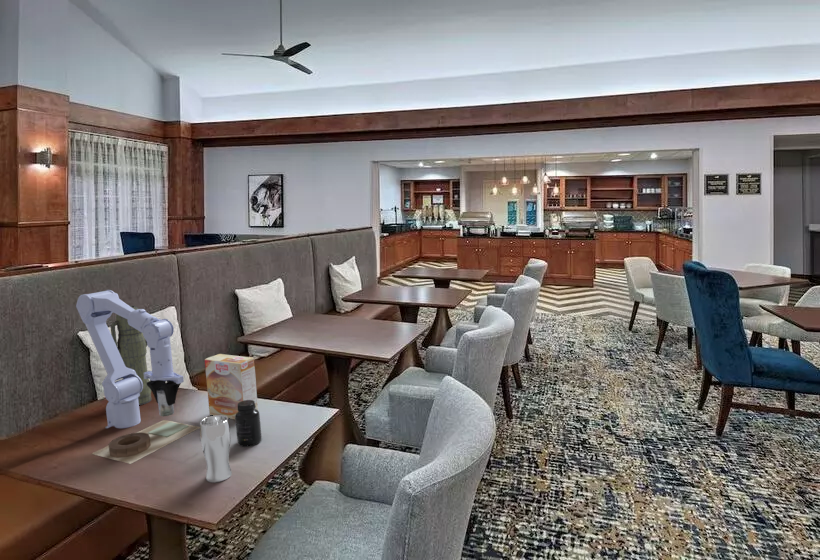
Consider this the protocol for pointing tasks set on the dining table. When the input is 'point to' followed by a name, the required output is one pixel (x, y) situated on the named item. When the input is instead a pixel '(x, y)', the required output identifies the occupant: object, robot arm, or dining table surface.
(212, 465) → the beer glass
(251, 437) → the supplement bottle
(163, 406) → the pin
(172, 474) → the dining table surface
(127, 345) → the thermos
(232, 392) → the coffeecake box
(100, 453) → the board
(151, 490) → the dining table surface
